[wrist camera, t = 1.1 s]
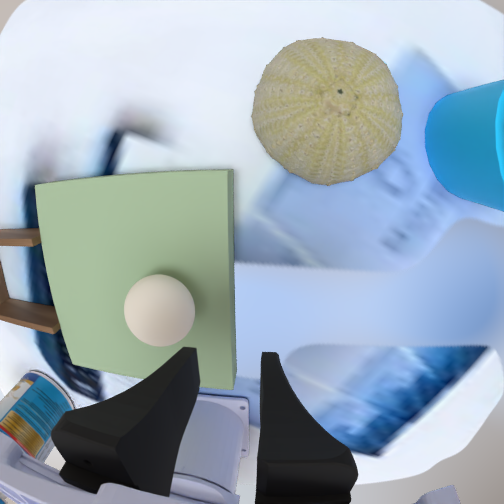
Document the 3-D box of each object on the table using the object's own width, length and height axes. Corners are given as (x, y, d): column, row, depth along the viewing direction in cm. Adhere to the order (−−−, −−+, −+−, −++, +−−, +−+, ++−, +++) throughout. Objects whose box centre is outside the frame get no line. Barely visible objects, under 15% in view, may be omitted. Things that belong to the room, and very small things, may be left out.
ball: (204, 326, 20) (188, 365, 16) (145, 321, 21) (119, 355, 16) (200, 265, 19) (180, 295, 15) (137, 263, 19) (105, 289, 15)
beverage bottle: (82, 427, 30) (17, 538, 11) (35, 403, 30) (-35, 496, 11) (70, 383, 27) (-21, 509, 8) (19, 358, 27) (-72, 456, 8)
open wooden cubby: (82, 342, 25) (43, 385, 18) (15, 326, 26) (-23, 357, 19) (58, 227, 22) (0, 252, 15) (-9, 229, 22) (-57, 249, 16)
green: (236, 371, 24) (233, 389, 22) (84, 350, 25) (72, 363, 23) (233, 169, 19) (227, 170, 17) (53, 181, 21) (35, 185, 18)
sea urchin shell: (210, 127, 17) (269, 21, 10) (272, 82, 21) (327, 6, 14) (326, 225, 18) (428, 161, 11) (361, 159, 22) (435, 101, 15)
